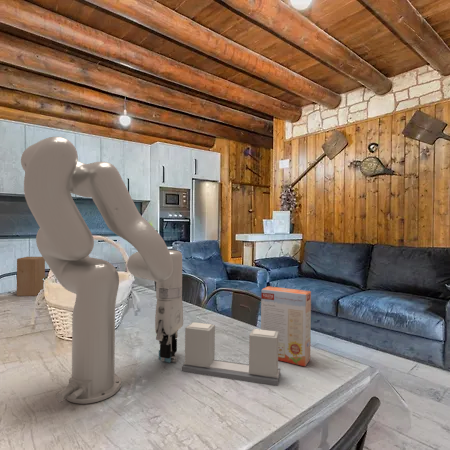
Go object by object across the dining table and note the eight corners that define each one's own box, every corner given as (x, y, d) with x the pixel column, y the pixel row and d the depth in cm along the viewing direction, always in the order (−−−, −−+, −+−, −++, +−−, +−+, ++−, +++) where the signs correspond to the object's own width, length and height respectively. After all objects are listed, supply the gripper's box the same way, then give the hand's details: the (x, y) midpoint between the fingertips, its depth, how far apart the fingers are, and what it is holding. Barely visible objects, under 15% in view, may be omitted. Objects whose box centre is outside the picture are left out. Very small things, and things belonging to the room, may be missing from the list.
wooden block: (16, 296, 166) (16, 258, 166) (26, 292, 176) (26, 256, 176) (36, 296, 167) (36, 258, 167) (45, 292, 177) (45, 256, 177)
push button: (182, 360, 93) (182, 326, 93) (169, 367, 88) (169, 331, 88) (166, 354, 96) (166, 322, 96) (153, 360, 92) (153, 326, 92)
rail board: (277, 385, 79) (278, 338, 79) (181, 371, 86) (182, 327, 86) (280, 373, 86) (280, 329, 86) (191, 360, 93) (191, 320, 93)
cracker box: (310, 360, 94) (312, 290, 94) (305, 367, 89) (306, 294, 89) (267, 349, 101) (268, 285, 101) (259, 356, 96) (260, 288, 96)
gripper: (168, 300, 83) (167, 369, 84) (191, 287, 99) (190, 345, 99) (143, 298, 85) (142, 365, 86) (169, 286, 101) (169, 342, 102)
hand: (168, 354), depth 93 cm, fingers closed on push button, 3 cm apart
